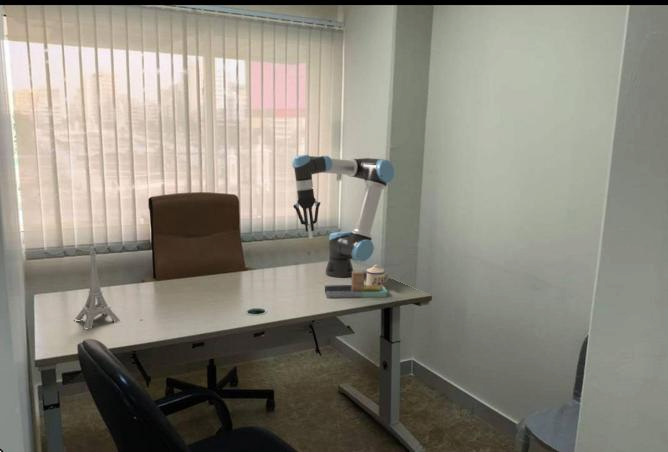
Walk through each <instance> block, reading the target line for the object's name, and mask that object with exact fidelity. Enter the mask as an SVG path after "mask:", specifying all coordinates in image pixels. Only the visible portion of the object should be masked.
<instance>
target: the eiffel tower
mask: <svg viewBox="0 0 668 452" xmlns="http://www.w3.org/2000/svg"><path fill="white" fill-rule="evenodd" d="M89 257H90V283H89V291H88V296H87V298H86V301H85V303H84V305H82V309H81V311H80V312H79V313H78V314H77V316H76V317H75V318H74V319H77V320H81V319H83V320H84V317H85V316H86V317H85V323H84V326H83V327H85V328H91V327H93V322H94V320H95V318H96V317H97V316H99V315H102V314H104V315H105V316H109V317H110V319H111V322H112V321H114V322H116V323H118V322H117V321H120V320H121V319H120V318H119V317H118V316H117V315H116V314H115V313H114V311H113V310H112V309H111V305H109V304H108V303H107V302H106V300H105V298H104V295H103V292H104V291H102V290H101V285H100V280H99V275H98V269H97V261H96V259H97V258H96V257H97V254H96V250H95V247H93V246H91V247H90V250H89ZM106 314H107V315H106ZM104 315H103V316H104ZM114 322H113V323H114Z"/></svg>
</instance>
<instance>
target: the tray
mask: <svg viewBox="0 0 668 452" xmlns="http://www.w3.org/2000/svg"><path fill="white" fill-rule="evenodd" d="M388 296H389V292H388V290H387V289H386V287H385V285H384V286H380V292H361V297H362V298H371V297H372V298H373V297H374V298H377V297H378V298H379V297H380V298H381V297H383V298H384V297H388Z"/></svg>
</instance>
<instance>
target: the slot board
mask: <svg viewBox="0 0 668 452" xmlns="http://www.w3.org/2000/svg"><path fill="white" fill-rule="evenodd" d="M351 288H352V284H335V285H333V284H329V285H324V294H325V296H326V299H357V298H358V299H359V298H363V297H361V291H351Z"/></svg>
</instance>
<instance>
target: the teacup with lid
mask: <svg viewBox="0 0 668 452" xmlns="http://www.w3.org/2000/svg"><path fill="white" fill-rule="evenodd" d="M385 271H386V270H385V269H384V268H381V267H379V266H378V264H374V265H373V266H371V267H370V268H367V269H366V283H365V285H379V286H384V287H385V283H386V282H387V281H388V280H389V274H388V273H387V272H385ZM385 275H386V276H385Z"/></svg>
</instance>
